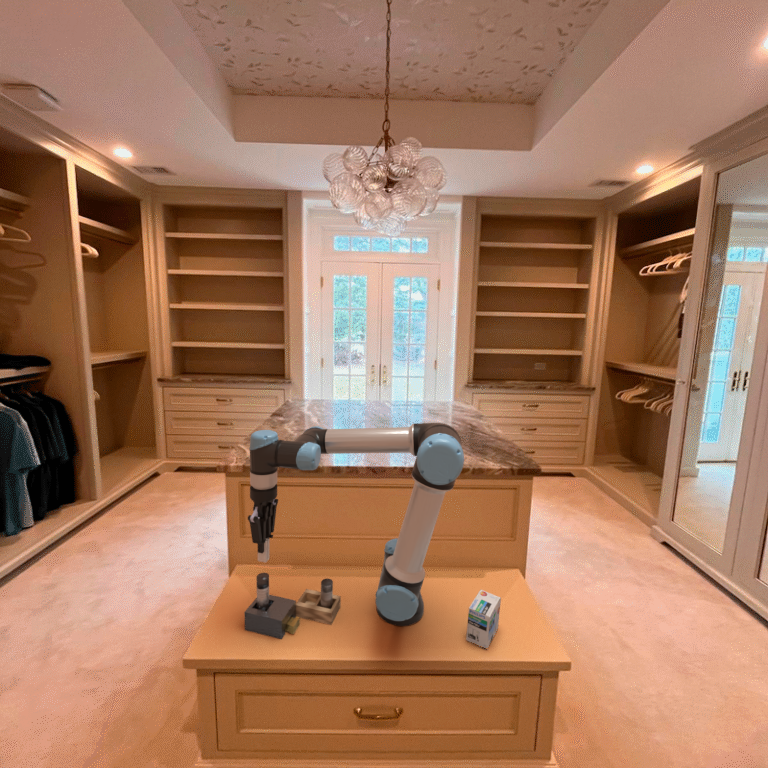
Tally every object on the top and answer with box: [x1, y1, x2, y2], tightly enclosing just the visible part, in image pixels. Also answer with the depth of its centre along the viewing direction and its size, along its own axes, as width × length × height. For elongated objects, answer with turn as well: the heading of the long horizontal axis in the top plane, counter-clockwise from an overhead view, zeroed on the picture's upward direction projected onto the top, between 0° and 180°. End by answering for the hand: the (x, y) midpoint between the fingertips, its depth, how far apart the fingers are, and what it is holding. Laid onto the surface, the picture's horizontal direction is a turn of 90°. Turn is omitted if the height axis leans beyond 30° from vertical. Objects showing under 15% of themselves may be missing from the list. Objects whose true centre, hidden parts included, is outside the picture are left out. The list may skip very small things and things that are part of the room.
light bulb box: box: [465, 589, 502, 649], centre depth 126 cm, size 11×7×11 cm, turn 148°
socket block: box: [243, 594, 297, 640], centre depth 126 cm, size 12×9×6 cm
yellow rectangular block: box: [285, 616, 301, 635], centre depth 126 cm, size 11×4×3 cm, turn 76°
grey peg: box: [255, 572, 270, 611], centre depth 126 cm, size 4×4×12 cm
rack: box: [296, 578, 342, 626], centre depth 132 cm, size 12×8×11 cm, turn 76°
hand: (263, 559), depth 124 cm, fingers closed
